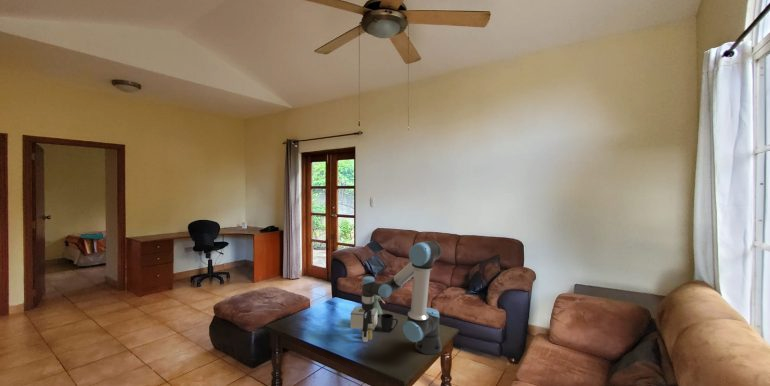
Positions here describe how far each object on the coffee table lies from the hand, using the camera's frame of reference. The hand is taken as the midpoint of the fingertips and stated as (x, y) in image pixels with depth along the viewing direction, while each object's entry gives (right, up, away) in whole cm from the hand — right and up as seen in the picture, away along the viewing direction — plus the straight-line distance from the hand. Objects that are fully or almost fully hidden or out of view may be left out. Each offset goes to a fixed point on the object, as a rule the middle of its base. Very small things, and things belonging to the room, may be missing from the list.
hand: (367, 337), depth 201 cm
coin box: (-3, 0, +19) cm, 19 cm away
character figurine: (+4, 0, +36) cm, 36 cm away
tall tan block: (0, 0, 0) cm, 0 cm away
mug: (+14, -1, +11) cm, 18 cm away
